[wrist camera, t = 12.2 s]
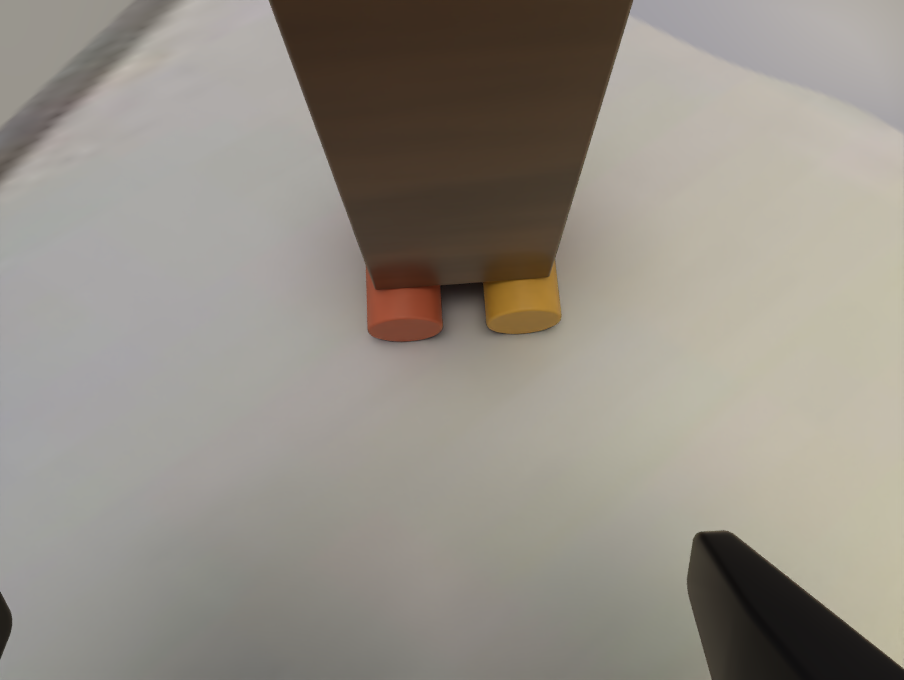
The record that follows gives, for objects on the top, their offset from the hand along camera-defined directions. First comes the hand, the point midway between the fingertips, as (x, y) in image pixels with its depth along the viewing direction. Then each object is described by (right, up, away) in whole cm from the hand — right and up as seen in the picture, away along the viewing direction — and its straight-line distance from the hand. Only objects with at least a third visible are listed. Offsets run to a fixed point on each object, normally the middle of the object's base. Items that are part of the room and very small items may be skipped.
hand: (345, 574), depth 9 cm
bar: (+2, +7, +13) cm, 14 cm away
